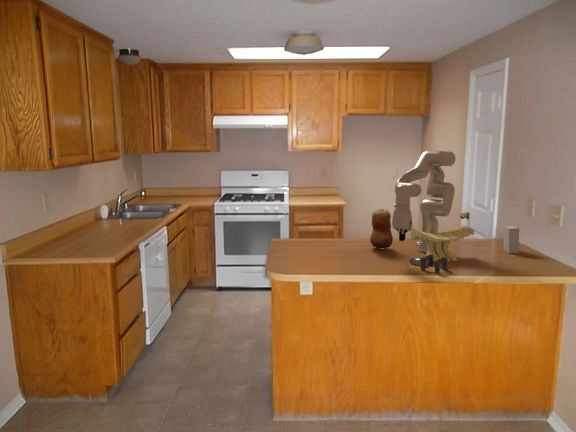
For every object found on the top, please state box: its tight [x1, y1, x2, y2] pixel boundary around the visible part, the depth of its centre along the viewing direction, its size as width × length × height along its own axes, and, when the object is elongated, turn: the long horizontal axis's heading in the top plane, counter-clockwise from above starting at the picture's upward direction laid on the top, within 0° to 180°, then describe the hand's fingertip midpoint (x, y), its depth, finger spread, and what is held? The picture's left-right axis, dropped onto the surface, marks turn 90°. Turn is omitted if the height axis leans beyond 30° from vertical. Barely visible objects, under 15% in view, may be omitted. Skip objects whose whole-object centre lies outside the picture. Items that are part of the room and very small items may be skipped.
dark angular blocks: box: [434, 257, 448, 275], centre depth 235 cm, size 2×9×8 cm, turn 133°
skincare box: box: [503, 225, 520, 254], centre depth 266 cm, size 8×6×15 cm
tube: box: [408, 256, 430, 268], centre depth 244 cm, size 10×4×4 cm, turn 43°
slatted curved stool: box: [410, 224, 475, 262], centre depth 258 cm, size 30×16×18 cm, turn 94°
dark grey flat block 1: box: [420, 254, 434, 271], centre depth 241 cm, size 2×9×6 cm, turn 133°
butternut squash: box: [369, 208, 394, 249], centre depth 282 cm, size 14×13×25 cm
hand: (402, 240), depth 249 cm, fingers closed
